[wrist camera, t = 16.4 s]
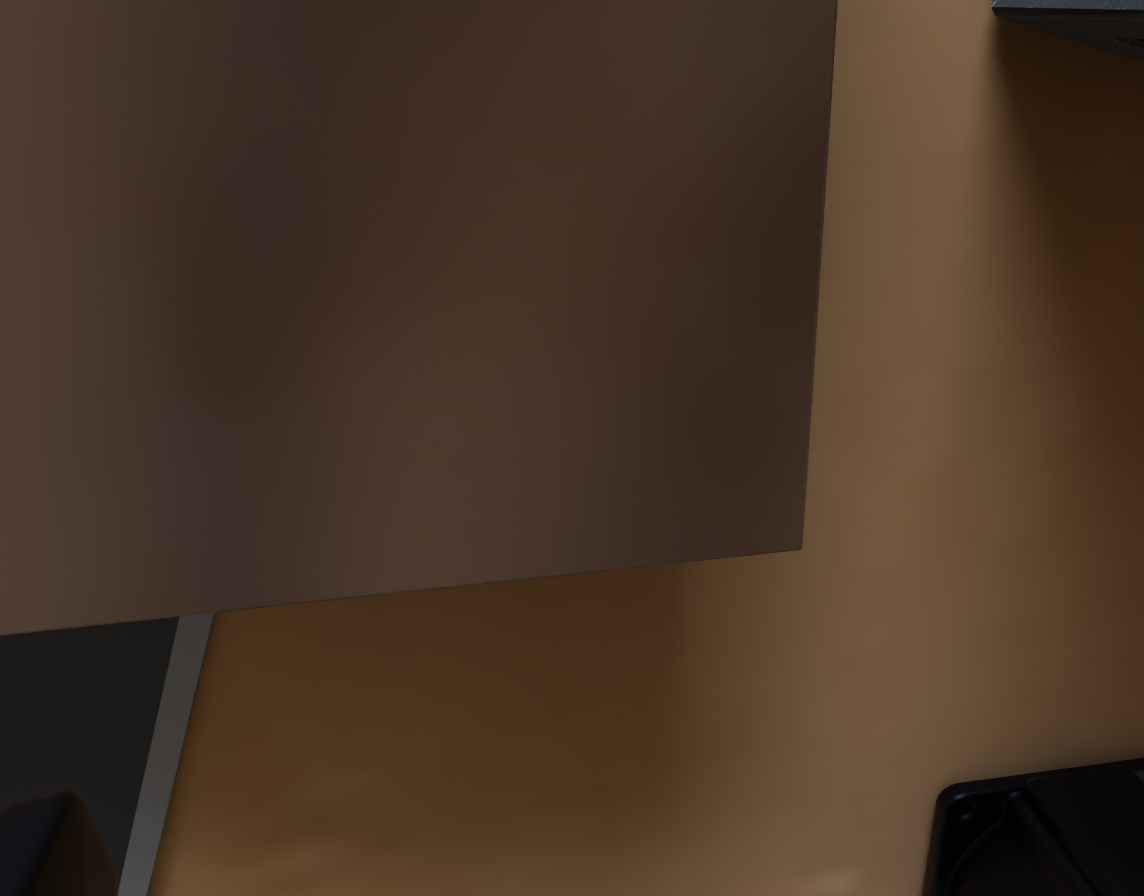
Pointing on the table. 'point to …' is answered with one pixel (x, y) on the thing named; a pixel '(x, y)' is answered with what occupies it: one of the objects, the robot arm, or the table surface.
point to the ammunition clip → (1083, 21)
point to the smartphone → (102, 726)
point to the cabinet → (399, 294)
